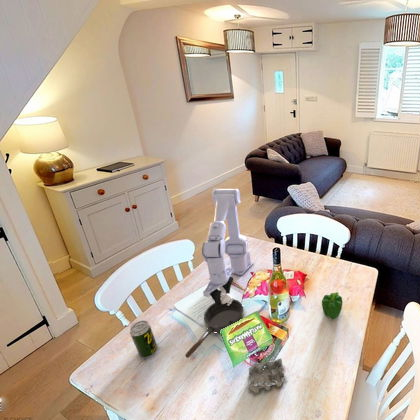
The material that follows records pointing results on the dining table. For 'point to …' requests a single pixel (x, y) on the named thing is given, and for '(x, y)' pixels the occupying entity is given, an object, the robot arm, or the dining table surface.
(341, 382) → the dining table surface
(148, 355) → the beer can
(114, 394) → the dining table surface
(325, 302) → the bell pepper
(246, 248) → the robot arm
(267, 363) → the egg carton
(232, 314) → the pan
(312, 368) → the dining table surface
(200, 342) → the pan handle
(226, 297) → the rabbit figurine
